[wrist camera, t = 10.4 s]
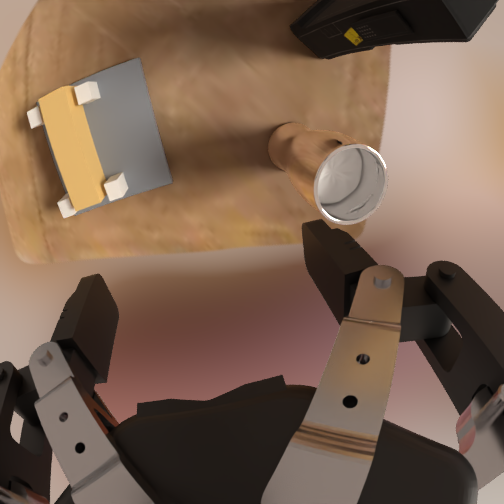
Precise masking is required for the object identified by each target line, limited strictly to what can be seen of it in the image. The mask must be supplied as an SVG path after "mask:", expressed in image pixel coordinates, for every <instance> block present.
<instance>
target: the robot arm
mask: <svg viewBox="0 0 504 504" xmlns="http://www.w3.org/2000/svg"><path fill="white" fill-rule="evenodd" d="M302 236H303V247H304V258H305V264H306V267H307V270H308V272H309V275H310V276H311V278H312V279H313V281H314V283H315V284H316V286H317V288H318V289H319V291H320V293H321V294H322V296H323V298H324V299H325V301H326V303H327V305H328V306H329V308H330V310H331V311H332V313H333V315H334V316H335V318H336V320H337V321H338V323H339V325H340V329H339V332H338V335H337V338H336V340H335V343H334V346H333V349H332V352H331V354H330V357H329V360H328V362H327V365H326V367H325V370H324V372H323V375H322V378H321V380H320V382H319V385H318V388H315V387H311V386H305V385H286V384H285V381H284V378H283V375H280V376H276V377H272V378H269V379H264V380H261V381H257V382H252V383H248V384H245V385H243V386H240V387H238V388H236V389H234V390H232V391H230V392H227V393H225V394H223V395H220V396H218V397H216V398H214V399H211V400H207V401H196V400H180V399H166V400H160V401H152V402H144V403H138V404H137V414H136V415H134V416H132V417H130V418H128V419H126V420H124V421H123V422H121V423H120V424H119V423H118V422H117V420H116V419H115V417H114V416H113V415H112V413H111V412H110V410H109V409H108V408H107V406H106V405H105V403H104V402H103V400H102V399H101V397H100V396H99V394H98V393H97V392H96V391H95V390H94V386H95V384H98V383H106V382H107V377H108V371H109V365H110V359H111V354H112V349H113V344H114V339H115V333H116V329H117V324H118V320H119V312H118V308H117V305H116V303H115V301H114V299H113V297H112V295H111V293H110V291H109V290H108V287H107V285H106V283H105V281H104V279H103V278H102V276H101V275H100V274H94V275H91V276H87V277H83V278H82V279H81V280H80V282H79V284H78V287H77V289H76V291H75V292H74V293H73V294H72V296H71V297H70V298H69V299H68V301H67V302H66V304H65V307H64V309H63V312H62V313H61V316H60V319H59V321H58V323H57V325H56V328H55V331H54V333H53V336H52V338H51V341H50V342H47V343H44V344H42V345H41V346H39V347H38V348H37V349H36V350H35V351H34V352H33V354H32V355H31V357H30V360H29V365H28V366H26V367H24V368H21V369H19V370H17V369H16V368H15V367H14V366H13V364H12V363H11V362H8V361H5V362H2V363H0V504H50V476H51V462H52V451H53V452H54V454H55V456H56V458H57V460H58V462H59V464H60V466H61V468H62V470H63V472H64V474H65V476H66V477H67V479H68V481H69V483H70V484H69V485H68V487H67V488H66V489H65V490H64V492H63V493H62V494H61V496H60V497H59V498H58V500H57V501H56V502H55V503H54V504H477V495H478V490H479V489H481V488H482V487H484V486H485V485H486V484H488V483H489V482H491V481H492V480H493V479H495V478H496V477H497V476H499V475H500V474H501V473H503V472H504V312H503V310H502V309H500V307H499V306H498V305H497V304H496V303H495V302H494V301H493V300H492V298H490V296H489V295H488V294H487V293H486V292H485V291H484V290H483V289H482V288H481V287H480V286H479V285H478V284H477V283H476V282H475V281H474V280H473V279H472V278H471V277H470V276H469V275H468V274H467V273H466V272H465V271H464V270H463V269H462V268H461V267H459V266H458V265H456V264H454V263H452V262H448V261H436V262H433V263H432V264H430V265H429V266H428V268H427V272H426V276H419V277H404V276H403V274H402V273H401V272H400V271H399V270H397V269H396V268H393V267H391V266H386V265H378V264H377V263H376V262H375V261H374V260H373V258H371V257H370V255H369V254H368V253H367V252H366V251H365V250H364V249H363V248H362V247H360V245H359V244H358V243H357V242H355V240H354V239H353V238H352V237H351V236H350V235H349V234H348V233H347V232H344V231H342V230H340V229H338V228H336V229H331V228H330V227H329V226H328V225H327V224H326V223H325V222H324V221H323V220H322V219H319V220H314V221H310V222H306V223H303V224H302ZM452 323H453V324H454V326H455V327H456V328H457V329H458V331H459V332H460V334H461V336H462V338H461V336H460V335H459V334H458V332H457V331H456V330H455V329H454V327H453V326H452V325H451V324H452ZM406 341H416V343H417V345H418V346H419V348H420V349H421V351H422V353H423V354H424V356H425V357H426V359H427V360H428V362H429V364H430V365H431V367H432V369H433V370H434V372H435V373H436V375H437V377H438V378H439V380H440V382H441V383H442V385H443V387H444V388H445V390H446V392H447V394H448V395H449V397H450V399H451V401H452V402H453V404H454V406H455V408H456V409H457V411H458V413H459V415H460V417H459V419H458V421H457V424H456V434H457V437H458V443H459V452H458V451H457V450H455V449H453V448H450V447H448V446H445V445H443V444H440V443H438V442H435V441H433V440H430V439H428V438H426V437H423V436H421V435H418V434H416V433H414V432H411V431H409V430H407V429H405V428H402V427H400V426H398V425H396V424H394V423H391V422H389V421H386V420H385V419H383V418H384V414H385V410H386V406H387V402H388V397H389V393H390V388H391V383H392V379H393V374H394V368H395V363H396V357H397V351H398V345H399V342H406ZM14 411H15V412H16V413H17V414H18V415H19V416H21V417H22V418H23V419H24V422H23V427H22V432H21V438H20V444H18V443H17V442H16V441H15V440H14V439H13V438H12V436H11V433H10V425H11V421H12V416H13V412H14Z"/></svg>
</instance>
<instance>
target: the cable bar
mask: <svg viewBox="0 0 504 504" xmlns="http://www.w3.org/2000/svg"><path fill="white" fill-rule="evenodd" d="M74 87H77V86H63V87H61V88H59V89H57V90H55V91H53V92H51V93H49V94H47V95H46V96H44V97H42V98H40V99H38V100H39V104H40V108H41V112H42V116H43V119H44V123H45V126H46V130H47V133H48V136H49V140H50V143H51V146H52V149H53V152H54V155H55V158H56V161H57V164H58V167H59V170H60V172H61V175H62V178H63V180H64V183H65V186H66V188H67V191H68V194H69V196H70V199H71V201H72V204H73V206H74V208H75V211H76V212H77V211H79V210H82V209H84V208H87V207H90V206H92V205H95V204H98V203H101V202H102V200H103V199H104V197H105V196H106V195H107V192H106V190H105V187H104V183H105V182H106V178H105V176H104V173H103V170H102V167H101V164H100V161H99V158H98V155H97V152H96V149H95V146H94V142H93V139H92V136H91V133H90V129H89V126H88V122H87V119H86V115H85V112H84V108H83V104H82V105H78V101H77V97H76V93H75V89H74Z"/></svg>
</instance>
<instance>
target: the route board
mask: <svg viewBox="0 0 504 504" xmlns="http://www.w3.org/2000/svg"><path fill="white" fill-rule="evenodd" d="M69 86H77V87H74V89H75V93H76V97H77V101H78V105H82V104H83V108H84V112H85V115H86V119H87V122H88V126H89V129H90V133H91V136H92V139H93V142H94V146H95V149H96V152H97V155H98V158H99V161H100V164H101V167H102V170H103V173H104V176H105V178H106V182H105V183H104V187H105V190H106V192H107V195H106V196H105V197H104V199H103V200H102V202H101V203H98V204H95V205H92V206H90V207H87V208H84V209H82V210H79V211H77V212H76V211H75V208H74V206H73V204H72V201H71V199H70V196H69V194H68V191H67V188H66V186H65V183H64V180H63V178H62V175H61V172H60V170H59V167H58V164H57V161H56V158H55V155H54V152H53V149H52V146H51V143H50V140H49V136H48V133H47V130H46V126H45V123H44V119H43V116H42V112H41V108H40V104H39V101H38V102H36V103H37V107H35V108H34V109H32V110H30V111H28V112H27V115H28V119H29V122H30V126H31V129H32V128H35V127H38V126H41V125H42V126H43V129H44V133H45V136H46V139H47V142H48V146H49V149H50V152H51V155H52V158H53V161H54V164H55V166H56V169H57V172H58V175H59V178H60V180H61V183H62V186H63V188H64V191H65V193H66V195H65V196H63V197H62V198H61V199H60V200H59V201H58V202H57V204H58V206H59V208H60V211H61V213H62V215H63V218H66V217H69V216H72V215H75V216H76V215H78V214H81V213H84V212H86V211H89V210H92V209H95V208H97V207H100V206H103V205H106V204H109V203H112V202H114V201H117V200H120V199H123V198H126V197H129V196H132V195H135V194H139V193H142V192H145V191H148V190H151V189H154V188H158V187H161V186H164V185H168V184H171V183H173V179H172V176H171V172H170V169H169V165H168V162H167V159H166V155H165V152H164V148H163V144H162V141H161V137H160V134H159V130H158V126H157V123H156V119H155V115H154V111H153V108H152V104H151V100H150V96H149V92H148V88H147V84H146V80H145V76H144V72H143V67H142V63H141V59H140V58H136V59H133V60H130V61H127V62H124V63H121V64H119V65H116V66H113V67H111V68H108V69H106V70H103V71H101V72H98V73H96V74H93V75H91V76H89V77H87V78H84V79H82V80H80V81H78V82H75V83H73V84H71V85H69Z"/></svg>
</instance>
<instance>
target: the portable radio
mask: <svg viewBox="0 0 504 504" xmlns="http://www.w3.org/2000/svg"><path fill="white" fill-rule="evenodd" d="M497 2H498V0H318V1H317V2H316V3H314V4H313V5H312V6H311V7H310V8H309V9H308V10H307V11H305V12H304V13H303V14H302V15H301V16H300V17H299V18H298V19H297V20H296V21H295V22H294V23H292V24H291V25H290V26H289V27H290V29H291V30H292V32H293V34H294V35H295V36H296V37H297V38H298V39H299V40H300V41H302V42H303V43H304V44H305V45H306V46H307V47H308V48H309V49H311V50H312V51H313V52H314V53H315V54H316V55H317V56H318V57H319V58H321V59H324V58H326V59H332V58H335V57H338V56H342V55H346V54H350V53H355V52H361V51H366V50H372V49H373V48H374V47H376V46H383V45H391V44H397V45H398V44H410V43H411V44H412V43H430V42H468V41H470V40H471V39H472V38H473V37H474V35H475V34H476V33H477V31H478V30H479V29H480V27H481V26H482V25H483V23H484V22H485V21H486V19H487V18H488V17H489V15H490V14H491V13H492V11H493V10H494V9H495V7H496V3H497Z"/></svg>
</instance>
